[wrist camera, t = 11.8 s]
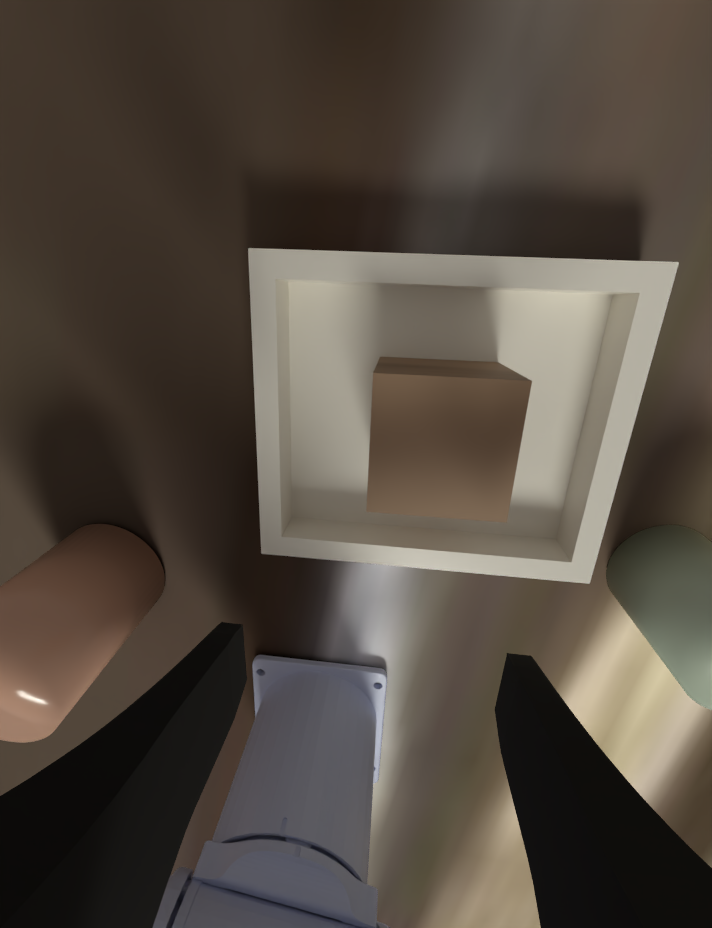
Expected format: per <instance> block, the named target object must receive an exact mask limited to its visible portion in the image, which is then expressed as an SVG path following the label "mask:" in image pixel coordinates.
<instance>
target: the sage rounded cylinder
mask: <svg viewBox="0 0 712 928" xmlns="http://www.w3.org/2000/svg"><path fill="white" fill-rule="evenodd" d="M606 579H607V584H608V587H609V589H610V591H611V592H612V594H613V595H614V596H615V598H616V599H617V600H618V602H619V603H620V604H621V606H622V607H623V609H624V610H625V611H626V613H627V614H628V615H629V617H630V618H631V619H632V621H633V622H634V623H635V625H636V626H637V627H638V629H639V630H640V631H641V633H642V634H643V635H644V637H645V638H646V640H647V641H648V642H649V644H650V645H651V646H652V648H653V649H654V650H655V652H656V653H657V654H658V656H659V657H660V658H661V660H662V661H663V662H664V664H665V665H666V666H667V668H668V669H669V671H670V672H671V673H672V675H673V676H674V677H675V679H676V680H677V681H678V683H679V684H680V685H681V687H682V688H683V689H684V691H685V692H686V693H687V695H688V696H689V697H690V698H691V699H692V700H694V701H695V702H696V703H698V704H700V705H701V706H703V707H705V708H708V709H710V710H712V542H711V541H710V540H709V539H707V538H706V537H705V536H703V535H702V534H701V533H699V532H697V531H695V530H693V529H691V528H688V527H684V526H678V525H661V526H655V527H651V528H648V529H645V530H642V531H640V532H638V533H636V534H634V535H632V536H631V537H629V538H628V539H626V540H625V541H624V542H623V543H621V544H620V545H619V547H618V548H617V549H616V550H615V551H614V553H613V554H612V556H611V558H610V560H609V563H608V565H607V570H606Z"/></svg>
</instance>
